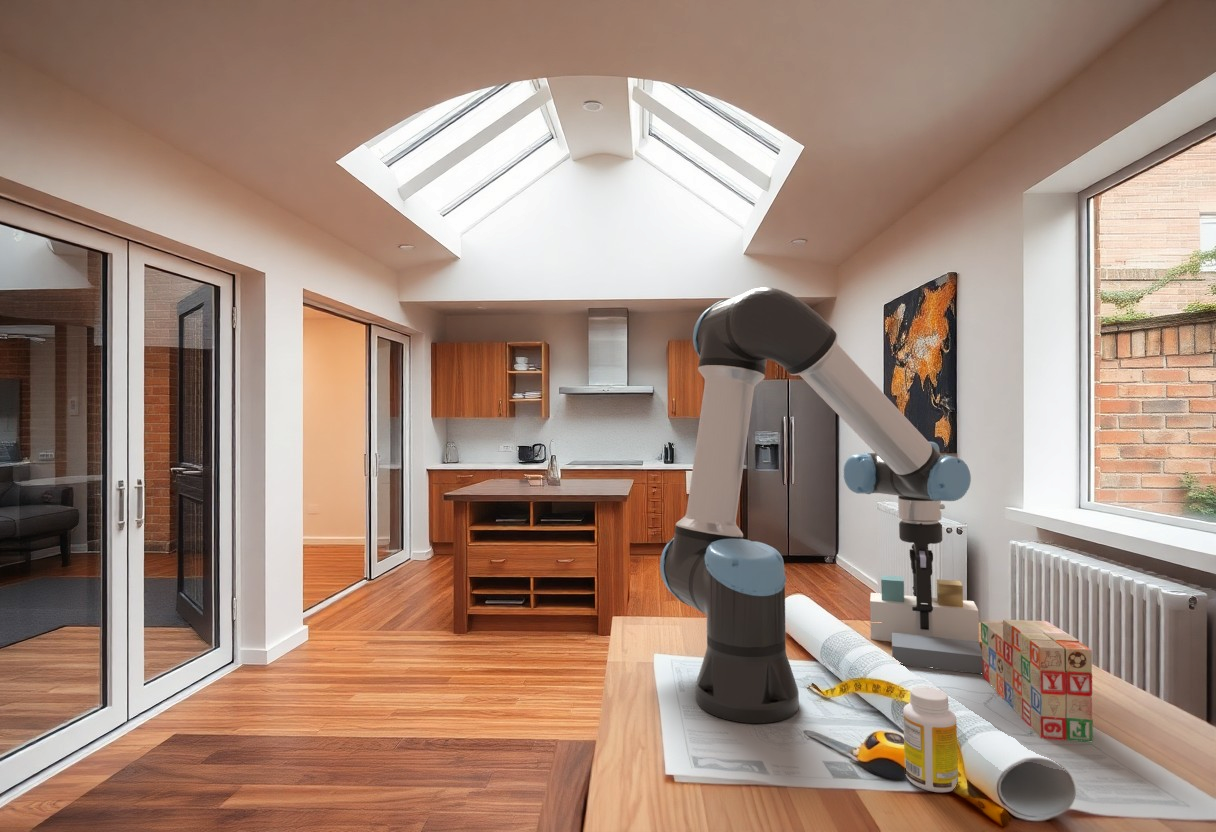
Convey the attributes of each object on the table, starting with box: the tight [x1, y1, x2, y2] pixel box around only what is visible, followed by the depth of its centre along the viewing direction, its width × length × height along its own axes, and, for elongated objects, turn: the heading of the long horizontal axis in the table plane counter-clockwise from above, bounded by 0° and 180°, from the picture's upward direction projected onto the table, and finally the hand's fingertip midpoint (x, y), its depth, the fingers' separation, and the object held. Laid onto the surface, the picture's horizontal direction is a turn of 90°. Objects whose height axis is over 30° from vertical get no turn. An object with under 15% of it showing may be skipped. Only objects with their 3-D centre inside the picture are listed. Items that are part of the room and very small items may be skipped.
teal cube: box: [880, 575, 905, 602], centre depth 127 cm, size 4×4×4 cm
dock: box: [891, 633, 983, 675], centre depth 113 cm, size 14×8×3 cm, turn 67°
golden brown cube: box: [936, 579, 964, 607], centre depth 123 cm, size 4×4×4 cm
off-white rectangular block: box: [869, 592, 980, 644], centre depth 125 cm, size 18×7×8 cm, turn 67°
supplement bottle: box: [902, 686, 959, 793], centre depth 75 cm, size 6×6×10 cm
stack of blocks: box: [980, 619, 1094, 742], centre depth 95 cm, size 21×6×12 cm, turn 168°
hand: (923, 638), depth 125 cm, fingers open, 9 cm apart
